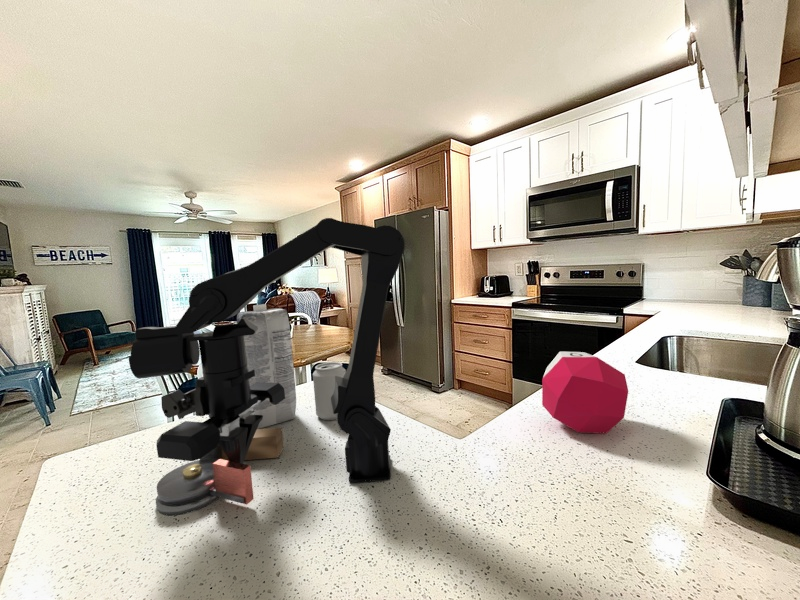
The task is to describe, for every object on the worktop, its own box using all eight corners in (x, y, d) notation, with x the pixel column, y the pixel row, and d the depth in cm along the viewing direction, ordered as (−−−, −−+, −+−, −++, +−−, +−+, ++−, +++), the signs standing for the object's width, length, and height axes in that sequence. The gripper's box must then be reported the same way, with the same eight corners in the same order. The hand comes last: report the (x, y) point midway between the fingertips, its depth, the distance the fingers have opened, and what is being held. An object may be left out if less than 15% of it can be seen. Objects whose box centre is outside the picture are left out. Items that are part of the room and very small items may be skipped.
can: (335, 406, 83) (331, 359, 82) (355, 412, 78) (351, 362, 77) (309, 417, 77) (305, 366, 76) (330, 424, 72) (325, 370, 71)
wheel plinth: (240, 472, 56) (239, 466, 56) (210, 512, 46) (209, 505, 46) (182, 477, 55) (181, 471, 55) (139, 518, 46) (138, 511, 46)
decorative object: (565, 365, 55) (548, 330, 69) (535, 434, 61) (525, 389, 75) (660, 392, 53) (623, 350, 67) (621, 461, 58) (594, 409, 72)
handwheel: (273, 482, 50) (270, 451, 50) (222, 524, 42) (218, 487, 42) (201, 466, 57) (198, 438, 56) (143, 500, 48) (139, 467, 48)
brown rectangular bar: (283, 447, 63) (282, 427, 63) (277, 457, 59) (275, 435, 59) (211, 453, 62) (209, 433, 62) (201, 463, 59) (199, 442, 59)
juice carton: (300, 419, 76) (290, 302, 74) (251, 433, 70) (239, 307, 68) (289, 407, 83) (280, 301, 82) (244, 420, 78) (233, 306, 76)
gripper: (226, 349, 58) (236, 433, 60) (113, 390, 40) (132, 508, 42) (282, 350, 56) (291, 437, 57) (186, 393, 38) (203, 519, 39)
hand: (237, 469), depth 49 cm, fingers closed
